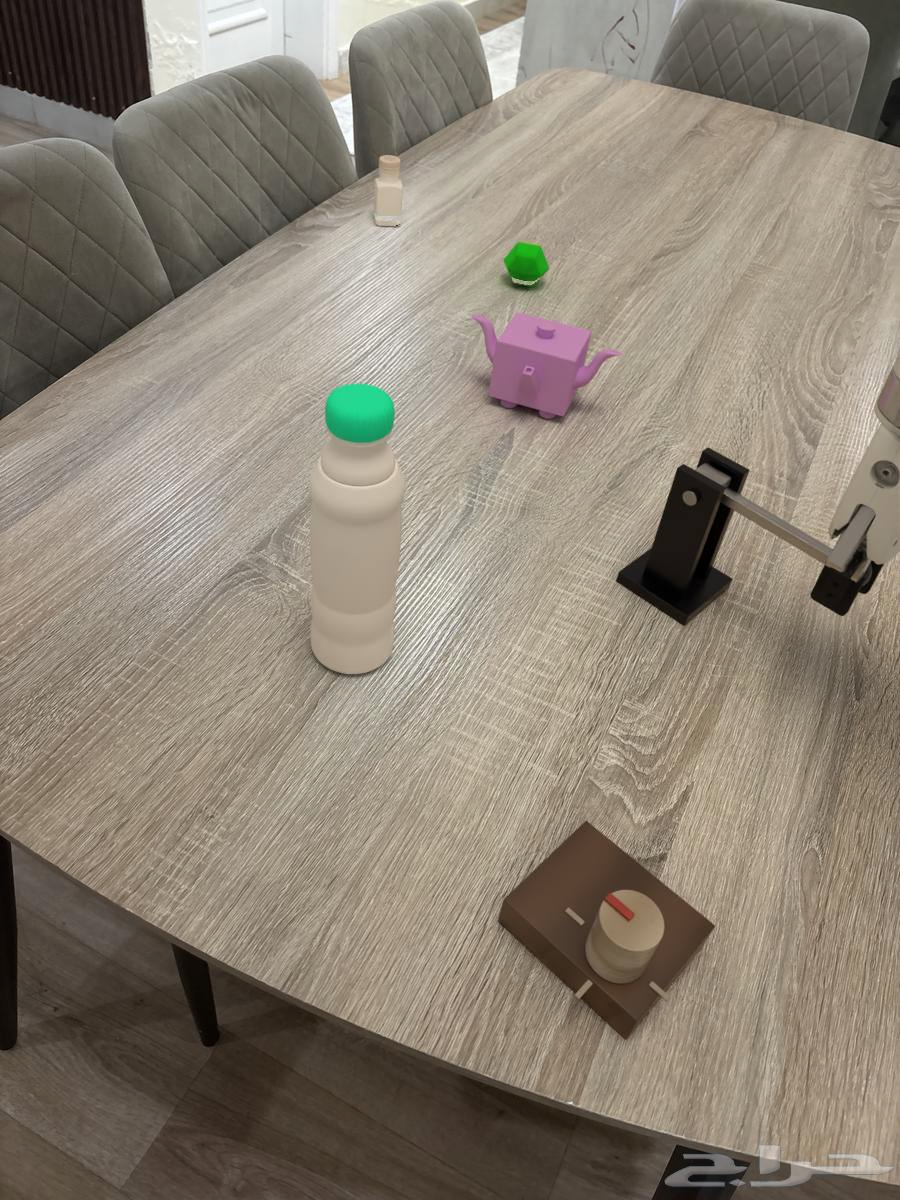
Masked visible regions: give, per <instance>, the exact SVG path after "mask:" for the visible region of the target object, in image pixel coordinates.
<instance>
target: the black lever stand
mask: <svg viewBox="0 0 900 1200" xmlns="http://www.w3.org/2000/svg"><path fill="white" fill-rule="evenodd" d="M698 459H699V460H698V463H697V466H696V468H695V469H697V468H698V467H700V466H701V465H703V464H704V463H707V464H709V465H711V466H712V467H714V468H716V469H718V470H719V471H721V472H723V473H725V474H726V475H728V476H730V477H731V481H730V483H729V486H728V488H730V489H731V490H733V491H735V492H737V493H738V494H740V495H742V491H743V489H744V487H745V484H746V482H747V479H748V476H749V475H750V472H751V470H750V469H749V468H747V467H745V466H744V465H741V464H739V463H738V462H736V461H734V460H732V459H731V458H728V457H727V456H725V455H723V454H721V453H719V452H718V451H716V450H714V449H712V448H710V447H708V446H707V447H705V449H703V450H702V452H701V453H700V457H699V458H698ZM695 469H694V468H692V467H690V466H688V465H686V464H685V463H682V464H681V465H679V466H678V467H676V471H675V474H674V477H673V480H672V482H671V486H670V490H669V492H668V496H667V499H666V502H665V505H664V508H663V511H662V514H661V518H660V521H659V524H658V527H657V529H656V533H655V536H654V538H653V541H652V545H651V548H649V549H648V550H646V551H645V552H643V553H642V554H641V555H640V556H638V557H637V558H635V559H634V560H633V561H631V562H630V563H628V564H627V565H625V567H624V568H622V569H620V570H619V571H618V573H617V576H616V579H615V581H616V583H619V584H620V585H621V586H623V587H625V588H626V589H628V590H629V591H631V592H632V593H634V594H635V595H637V596H639V598H641V599H643V600H645V601H646V602H647V603H649V604H651V605H652V606H654V607H655V608H656V609H657V610H660V611H661V612H663V613H664V614H666V615H667V616H669V617H670V618H672V619H673V620H675V621H676V622H678V623H679V624H681V625H682V626H685V625H687V624H688V623H689V622H691V620H693V619H694V618H695V617H696V616H698V615H699V614H700V613H701V612H702V611H704V609H706V608H707V607H708V606H709V605H710V604H711V603H713V602H715V600H716V599H718V597H720V596H721V595H723V594H724V592H726V591H727V590H728V589H729V588H730V587H731V584H732V582H733V578H732V577H731V576H729V575H727V574H726V573H724V572H722V571H721V570H720V569H718V568H716V567H714V563H715V561H716V558H717V556H718V553H719V551H720V548H721V546H722V544H723V541H724V538H725V535H726V533H727V530H728V527H729V525H730V522H731V520H732V517H733V515H734V512H735V511H734V510H733V509H731V508H729V507H728V506H726V505H724V504H723V503H721V499H722V497H723V494H724V491H725V489H726V488H725V487H724V486H722V485H720V484H719V483H717V482H715V481H713V480H712V479H710V478H708V477H706V476H704V475H703V474H701V473H699V472H697V471H695Z"/></svg>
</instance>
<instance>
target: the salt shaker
mask: <svg viewBox="0 0 900 1200" xmlns="http://www.w3.org/2000/svg"><path fill="white" fill-rule="evenodd" d="M401 161H402V160H401V158H400V157H399V156H397V155H391V154H384V155H381V156H380V157H379V158H378V177H375V178H374V192H373V211H374V210H375V214H376V215H378V216H399V215H401V216H402V211H403V210H402V208H403V195H404V194H403V192H404V187H403V182H402V180H401V178H400V173H401ZM373 218H374V223H375V225H376V226H378V227H379V226H380V227H400V225H401V223H399V224H400V225H398V224H397V223H395V222H392V221H377V220H376V219H375V216H374V215H373ZM395 224H396V225H398V226H396V225H395Z"/></svg>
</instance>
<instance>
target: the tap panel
mask: <svg viewBox="0 0 900 1200" xmlns="http://www.w3.org/2000/svg"><path fill="white" fill-rule="evenodd" d="M619 890H633V891H637V892H640V893H642V894H644V895H645V896H647V897H648V898H650V899H651V900H652V901H653V902H654V903H655V904H656V905H657V907H658V908H659V910H660V911H661V913H662V916H663V919H664V934H663V937H662V939H661V941H660V942H659V944H658V946H657V948H656V950H655V952H654V954H653V956H652V957H651V959H650V961H649V963H648V965H647V967H646V969H645V970H644V972H643V974H642V975H641V976H640V977H639V978H638V979H636V980H635V981H633V982H630V983H625V984H619V983H613V982H610V981H607V980H605V979H604V978H602V977H601V976H599V975H598V974H597V973H596V972H595V971H594V970H593V969H592V967H591V966H590V964H589V962H588V960H587V957H586V952H585V945H586V940H587V938H588V935H589V933H590V930H591V928H592V926H593V923H594V921H595V918H596V916H597V914H598V911H599V909H600V906H601V904H602V902H603V901H604V899H605V898H606V896H607V895H608V894H609V893H613V892H616V891H619ZM497 922H498V923H499V924H501V926H502V927H504V928H505V929H506V930H507V931H508V932H509V933H510V934H511V935H512V936H513V937H514V938H516V940H517V941H519V942H520V943H521V944H522V945H523V946H524V947H525V948H526V949H527V950H528V951H529V952H530V953H532V954H533V955H534V956H535V957H536V958H537V959H538V960H539V961H540V962H541V963H542V964H544V966H546V967H547V968H548V969H549V970H550V971H551V972H552V973H553V974H554V975H555V976H556V977H558V979H560V980H561V982H563V984H565V985H566V986H567V987H568V988H569V989H570V990H571V991H572V992H573V993H575V994H574V997H575V998H576V999H578V1000H580V999H581V1000H583V1002H584V1003H585V1004H587V1005H588V1006H589V1008H590V1009H592V1010H593V1011H594V1012H595V1013H596V1014H597V1015H598V1016H600V1018H602V1019H603V1020H604V1021H605V1022H606V1023H607V1024H608V1025H609V1026H610V1027H611V1028H612V1029H613V1030H614V1031H616V1032H617V1033H618V1034H619V1035H620V1036H621V1037H622V1038H623V1039H624V1040H625V1041H626V1040H628V1039H629V1038H630V1037H631V1035H632V1034H633V1033H634V1032H635V1031H636V1029H637V1028H638V1026H640V1025H641V1023H642V1022H643V1021H644V1020H645V1018H646V1017H647V1016H648V1014H649V1013H650V1012H651V1011H652V1010H653V1008H655V1006H656V1005H657V1003H658V1002H659V1001H660V1000H661V999H663V1000H664V1001H665V1002H668V1001H669V1000H670V999H671V996H670V995H669V994H668V993H667V991H669V990H670V988H671V986H672V985H673V984H674V983H675V982H676V980H677V979H678V978H679V977H680V975H681V974H682V973H683V972H684V970H685V969H686V968H688V966H689V965H690V963H691V962H692V961H693V960H694V959H695V957H696V956H697V955H698V954H699V952H701V950H702V949H703V947H704V945H705V944H706V943H707V941H708V939H709V938H710V936H711V934H712V933H713V931H714V929H715V928H716V925H715V923H713V922H712V921H710V920H709V919H708V918H707V917H706V916H704V915H703V914H702V913H701V912H699V911H698V910H697V909H696V908H694V907H693V906H692V905H691V904H690V903H688V902H687V901H686V900H684V899H683V898H682V897H681V896H679V895H678V894H677V893H676V892H675V891H673V890H672V889H671V888H670V887H668V886H667V885H666V884H665V883H663V881H661V880H660V879H659V878H658V877H657V876H655V875H654V874H652V872H650V871H649V870H648V869H647V868H646V867H644V866H643V865H641V864H640V863H639V862H638V861H637V860H635V859H634V857H632V856H631V855H630V854H629V853H627V852H626V851H624V850H623V849H622V848H621V847H620V846H619V845H617V844H616V843H614V841H612V840H611V839H610V838H608V836H606V835H605V834H603V832H601V831H600V830H599V829H597V828H596V827H595V826H594V825H593V824H591V823H590V821H588V820H585V821H583V822H582V823H581V824H580V825H579V826H578V827H577V828H576V829H575V830H574V831H573V832H572V833H571V834H570V835H569V836H568V837H567V838H566V839H565V840H563V842H561V844H559V846H558V847H556V848H555V850H553V851H552V852H551V853H550V854H549V855H548V856H547V857H545V859H544V860H543V861H542V862H540V863H539V864H538V866H536V867H535V869H534V870H532V871H531V872H530V873H529V874H528V875H527V876H526V877H525V878H524V879H523V880H522V881H521V882H520V883H519V884H518V885H517V886H516V887H515V888H513V890H512V891H510V892H509V893H508V894H507V895H506V896H505V897H504V898H503V900H502V903H501V907H500V911H499V915H498V919H497Z"/></svg>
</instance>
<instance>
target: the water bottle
mask: <svg viewBox="0 0 900 1200" xmlns="http://www.w3.org/2000/svg"><path fill="white" fill-rule="evenodd" d="M324 411H325V412H324V417H325V420H324V421H325V425H326V431H327V433H328V435H329V436H330V439H329V441H328V442H327V443H326V444H325V445H324V447H323V449H322V452H321V454H320V455H319V457H318V458H317V460H316V461H315V464H314V466H313V467H312V469H311V472H310V475H309V480H308V490H309V491H308V492H309V495H310V499H311V504H310V516H309V517H310V518H309V555H310V556H309V558H310V559H309V560H310V573H311V574H310V575H311V582H312V586H311V591H310V611H311V616H312V618H311V624H310V646H311V650H312V653H313V655H314V656H315V658H316V659H317V661H318V662H319V663H320V664H322V665H323V666H324V667H326V668H327V669H329V670H331V671H334V672H336V673H340V674H344V675H360V674H366V673H368V672H372V671H373V670H376V669H378V668H379V667H381V666H383V665H384V663H386V661H387V660H388V659H389V657H390V656H391V655H392V652H393V649H394V641H395V622H394V619H395V615H396V611H397V589H396V586H397V585H396V584H397V581H398V580H397V579H398V575H399V566H400V558H401V548H402V531H403V530H402V529H403V526H402V525H403V510H402V509H403V508H402V504H403V501H404V498H405V494H406V480H405V475H404V472H403V470H402V468H401V465H400V464H399V462H398V461H397V459H396V456H395V453H394V450H393V449H392V446H391V445H390V444H389V442H388V441H387V440H388V439H389V438H390V437H391V435H392V431H393V429H394V423H395V417H396V416H395V414H396V413H395V411H396V410H395V403H394V401H393V399H392V397H391V396H390V394H388V392H387V391H386V390H384V389H382V388H380V387H378V386H376V385H372V384H367V383H357V382H356V383H350V384H345V385H341V386H337V387H336V388H334V389H333V390H332V391H331V392H330V393H329V394H328V396H327V398H326V402H325V406H324Z"/></svg>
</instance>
